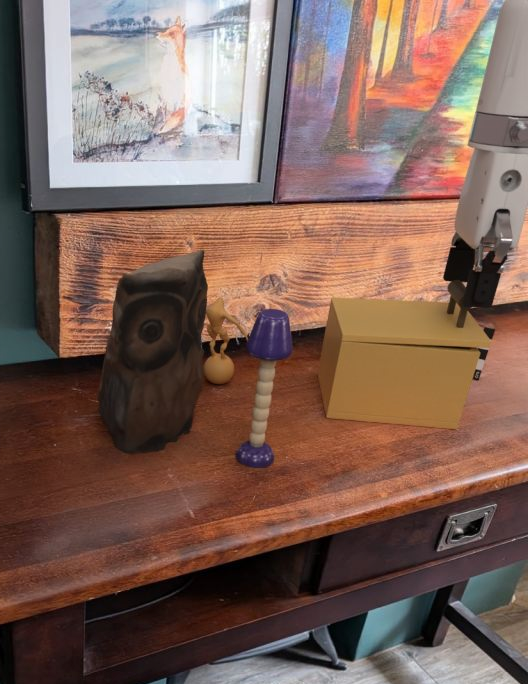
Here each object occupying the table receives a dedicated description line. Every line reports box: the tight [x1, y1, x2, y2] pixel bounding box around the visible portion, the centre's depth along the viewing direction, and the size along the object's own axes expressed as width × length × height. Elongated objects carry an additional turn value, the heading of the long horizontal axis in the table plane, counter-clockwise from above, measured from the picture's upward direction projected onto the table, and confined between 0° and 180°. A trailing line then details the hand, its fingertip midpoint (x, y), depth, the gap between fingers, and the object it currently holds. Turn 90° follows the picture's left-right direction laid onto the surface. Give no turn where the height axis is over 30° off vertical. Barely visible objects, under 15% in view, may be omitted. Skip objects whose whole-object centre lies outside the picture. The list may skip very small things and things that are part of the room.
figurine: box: [203, 296, 249, 385], centre depth 95 cm, size 8×6×12 cm
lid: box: [330, 280, 492, 349], centre depth 90 cm, size 17×14×5 cm
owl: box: [96, 249, 209, 455], centre depth 81 cm, size 13×13×20 cm
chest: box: [317, 303, 480, 430], centre depth 94 cm, size 16×14×10 cm
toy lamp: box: [235, 308, 293, 469], centre depth 78 cm, size 5×5×17 cm
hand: (465, 293), depth 88 cm, fingers open, 9 cm apart
